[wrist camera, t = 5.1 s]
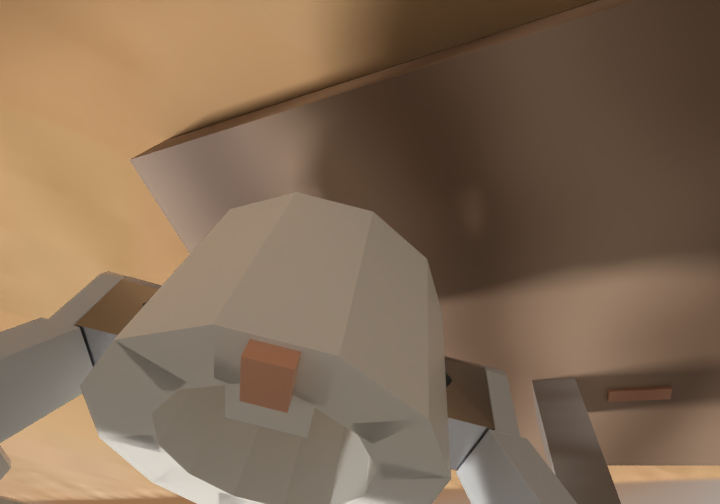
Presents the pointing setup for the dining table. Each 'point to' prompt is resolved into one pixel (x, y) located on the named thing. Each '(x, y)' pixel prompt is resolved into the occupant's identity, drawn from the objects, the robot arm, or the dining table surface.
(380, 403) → the white hollow tube
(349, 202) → the board
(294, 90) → the dining table surface
